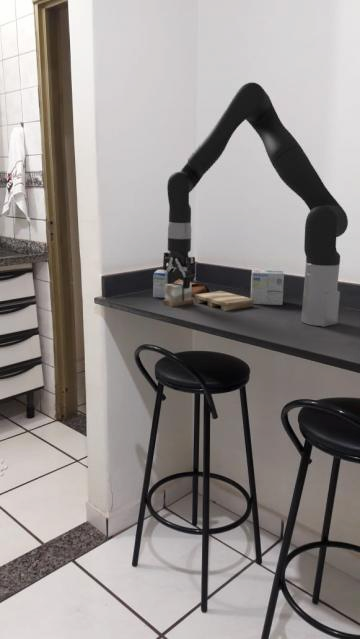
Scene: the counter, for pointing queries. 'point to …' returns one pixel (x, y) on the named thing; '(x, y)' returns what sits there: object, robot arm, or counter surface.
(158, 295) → the medicine box
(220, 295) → the dock
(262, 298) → the light bulb box
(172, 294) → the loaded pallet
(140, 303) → the counter surface
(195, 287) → the sunglasses case
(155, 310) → the counter surface
